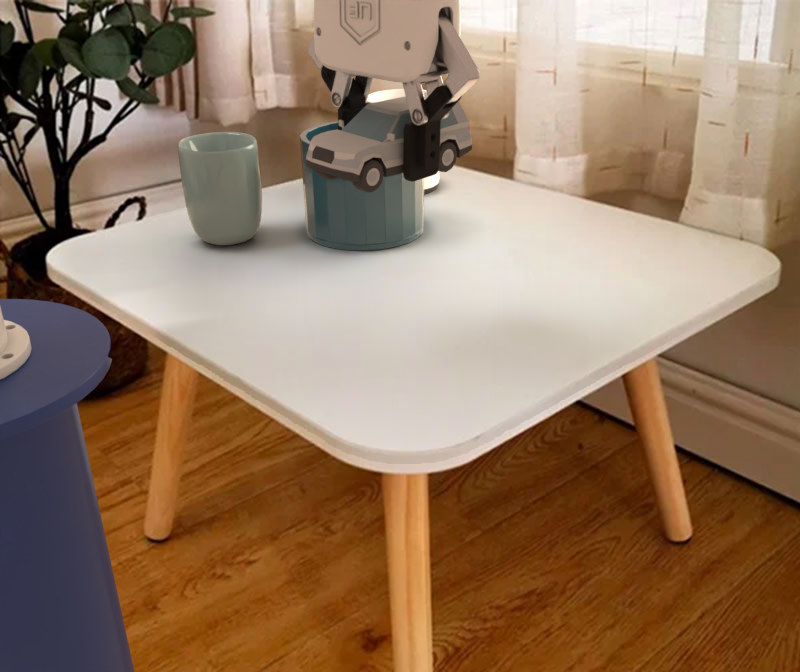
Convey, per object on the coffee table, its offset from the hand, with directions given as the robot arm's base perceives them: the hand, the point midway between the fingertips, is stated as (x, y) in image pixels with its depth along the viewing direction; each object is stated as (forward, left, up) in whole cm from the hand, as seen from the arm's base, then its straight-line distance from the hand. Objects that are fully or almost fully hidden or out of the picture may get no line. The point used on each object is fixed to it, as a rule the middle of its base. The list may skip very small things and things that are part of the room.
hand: (388, 166), depth 69 cm
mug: (+31, +26, -14) cm, 43 cm away
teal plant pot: (+17, +20, -14) cm, 30 cm away
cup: (+6, +29, -14) cm, 32 cm away
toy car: (0, 0, -1) cm, 1 cm away
